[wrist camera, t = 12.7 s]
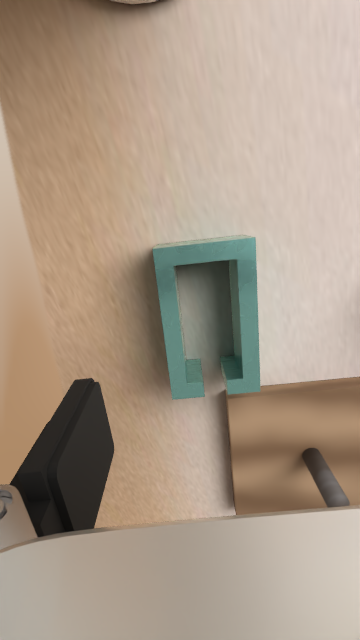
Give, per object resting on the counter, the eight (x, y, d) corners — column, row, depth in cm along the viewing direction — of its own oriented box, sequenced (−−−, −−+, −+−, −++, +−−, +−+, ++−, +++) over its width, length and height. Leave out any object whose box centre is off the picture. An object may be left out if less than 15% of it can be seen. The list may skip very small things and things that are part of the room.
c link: (157, 244, 23) (152, 248, 19) (243, 234, 23) (255, 237, 19) (173, 374, 26) (172, 399, 23) (249, 367, 26) (260, 391, 22)
